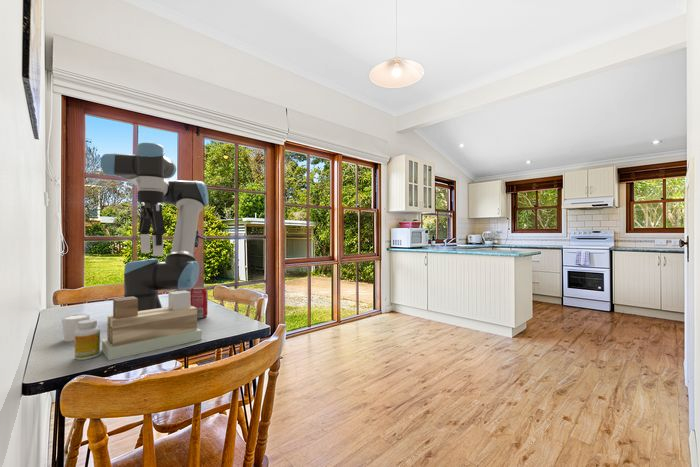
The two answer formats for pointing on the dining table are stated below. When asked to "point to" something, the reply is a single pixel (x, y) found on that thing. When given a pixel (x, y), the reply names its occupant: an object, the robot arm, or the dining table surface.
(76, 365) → the dining table surface
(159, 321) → the wooden block
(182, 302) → the white cube
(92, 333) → the supplement bottle
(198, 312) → the beverage can
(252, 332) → the dining table surface
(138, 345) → the block
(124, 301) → the brown wooden cube
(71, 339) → the white cup
